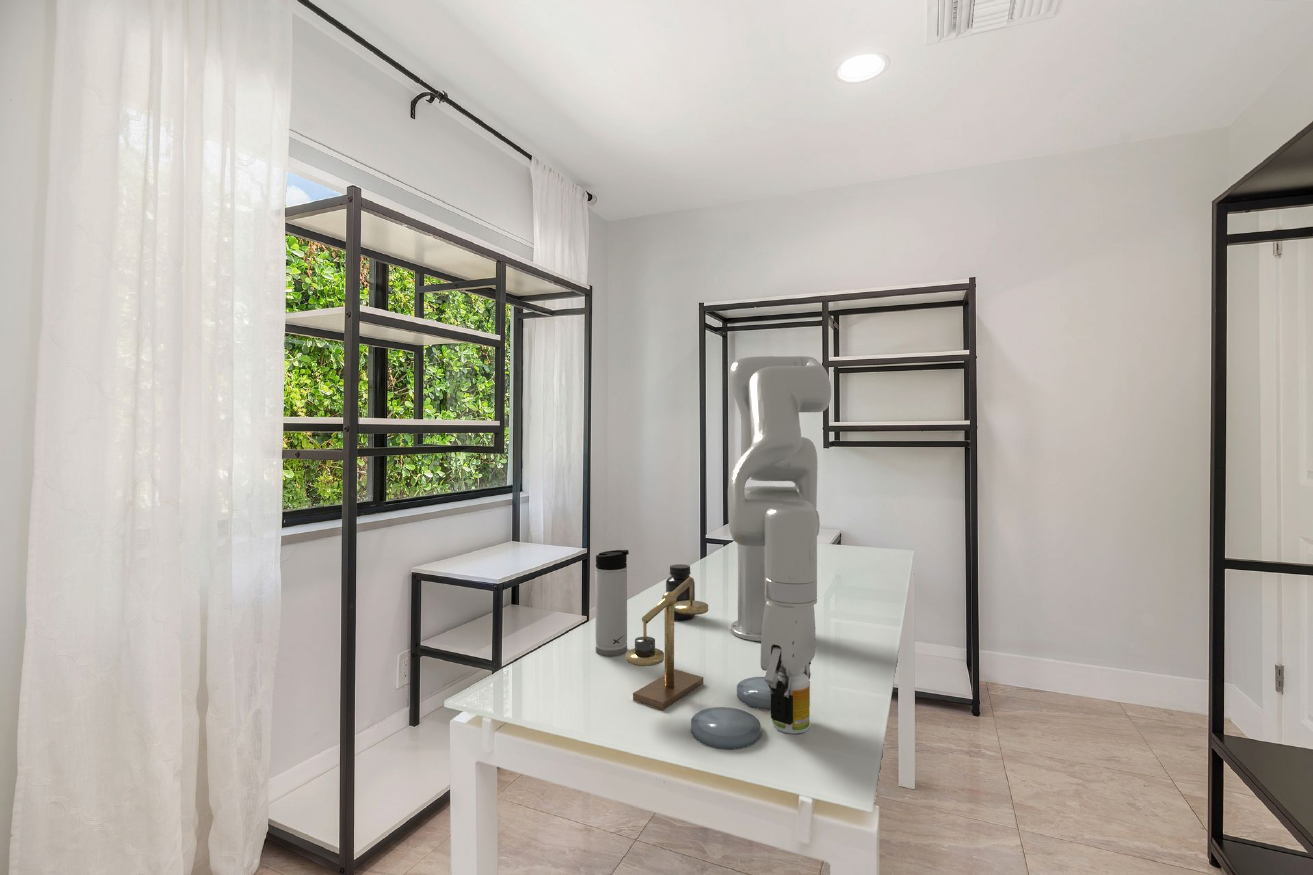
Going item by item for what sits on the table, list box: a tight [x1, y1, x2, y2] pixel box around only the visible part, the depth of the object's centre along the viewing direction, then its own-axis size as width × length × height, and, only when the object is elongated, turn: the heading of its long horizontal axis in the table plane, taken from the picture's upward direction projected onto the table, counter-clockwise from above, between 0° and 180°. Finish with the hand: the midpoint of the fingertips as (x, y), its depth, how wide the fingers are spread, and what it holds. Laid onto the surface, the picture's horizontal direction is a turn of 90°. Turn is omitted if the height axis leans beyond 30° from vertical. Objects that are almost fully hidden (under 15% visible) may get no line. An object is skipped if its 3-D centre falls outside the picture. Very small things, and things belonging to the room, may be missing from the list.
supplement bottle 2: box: [771, 667, 811, 735], centre depth 87 cm, size 5×5×10 cm
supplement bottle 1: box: [665, 563, 696, 622], centre depth 140 cm, size 7×7×12 cm
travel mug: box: [594, 549, 630, 657], centre depth 118 cm, size 6×7×20 cm
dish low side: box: [690, 706, 762, 750], centre depth 86 cm, size 10×10×1 cm
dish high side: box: [736, 676, 771, 712], centre depth 97 cm, size 10×10×1 cm
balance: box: [625, 576, 709, 711], centre depth 99 cm, size 20×6×18 cm, turn 144°
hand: (790, 711), depth 87 cm, fingers closed on supplement bottle 2, 5 cm apart
